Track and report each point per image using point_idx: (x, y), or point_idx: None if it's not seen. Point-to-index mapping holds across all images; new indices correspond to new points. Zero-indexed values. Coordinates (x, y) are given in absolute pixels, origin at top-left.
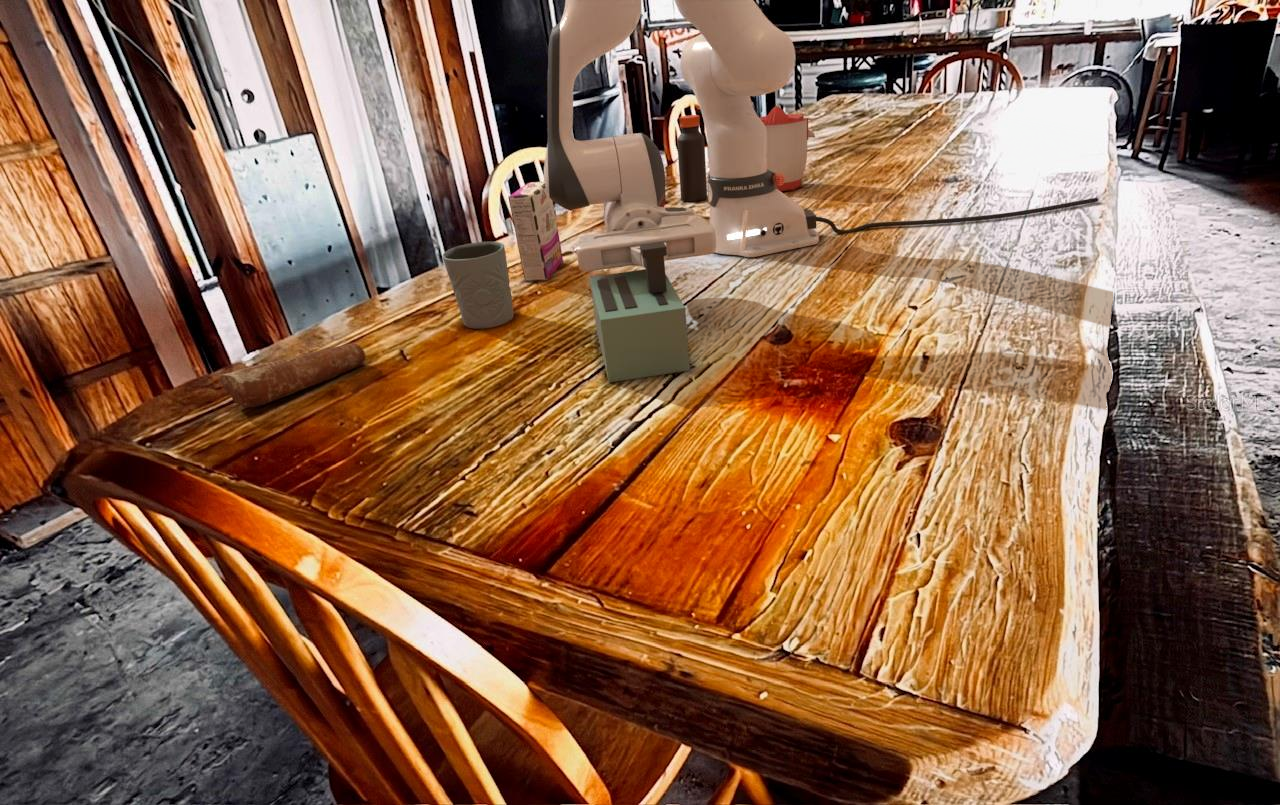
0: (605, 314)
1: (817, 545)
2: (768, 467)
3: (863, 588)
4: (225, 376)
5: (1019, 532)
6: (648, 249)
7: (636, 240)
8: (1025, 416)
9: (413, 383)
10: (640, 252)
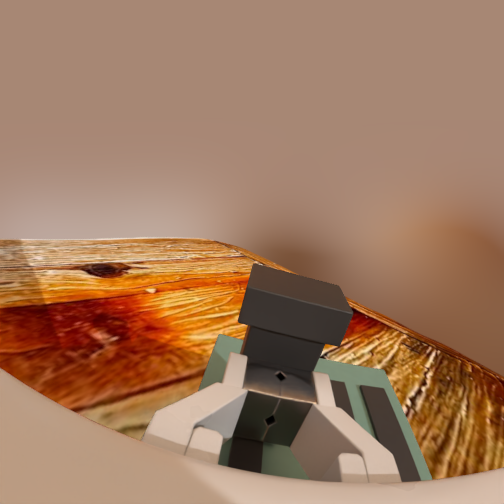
0: (380, 381)
1: (225, 271)
2: (215, 298)
3: (222, 260)
4: None
5: (146, 244)
6: (318, 280)
7: (382, 489)
8: (47, 248)
9: None
10: (337, 407)
